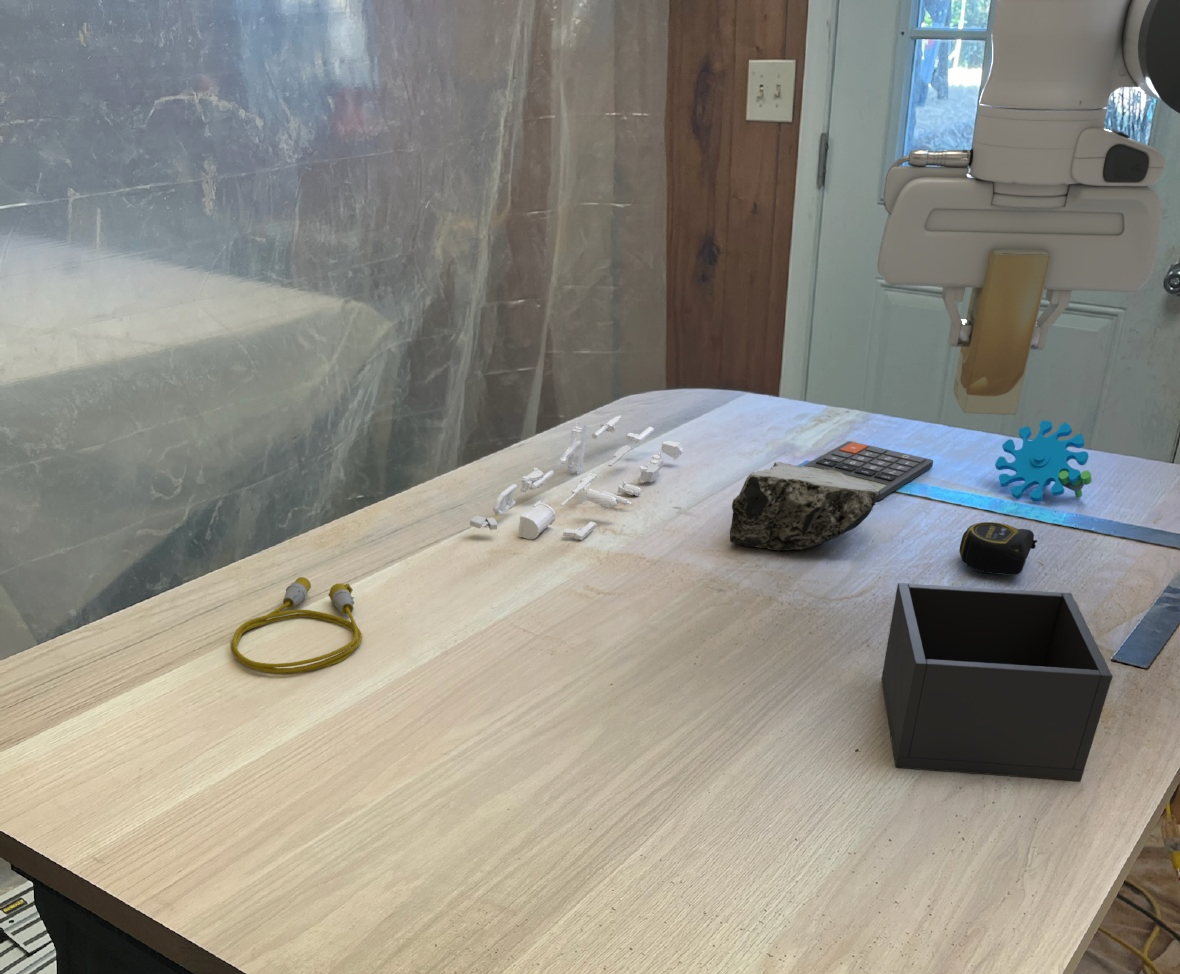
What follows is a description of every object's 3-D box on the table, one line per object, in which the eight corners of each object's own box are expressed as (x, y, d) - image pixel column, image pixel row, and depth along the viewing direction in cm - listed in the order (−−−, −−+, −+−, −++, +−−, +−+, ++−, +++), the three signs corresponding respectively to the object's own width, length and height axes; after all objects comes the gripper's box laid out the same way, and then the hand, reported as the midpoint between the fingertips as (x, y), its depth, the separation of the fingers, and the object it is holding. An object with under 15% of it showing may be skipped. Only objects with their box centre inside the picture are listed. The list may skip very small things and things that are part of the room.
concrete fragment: (743, 479, 131) (864, 415, 123) (780, 564, 132) (903, 506, 124) (697, 490, 118) (828, 419, 110) (738, 583, 119) (871, 519, 111)
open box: (1045, 690, 97) (1071, 592, 92) (1080, 781, 86) (1113, 676, 81) (881, 679, 98) (897, 582, 93) (895, 767, 87) (915, 663, 82)
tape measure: (1018, 586, 114) (1026, 551, 111) (949, 572, 116) (956, 537, 114) (1032, 562, 118) (1040, 527, 116) (965, 548, 121) (972, 514, 119)
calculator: (934, 458, 141) (879, 493, 131) (933, 466, 141) (878, 501, 132) (849, 439, 147) (790, 471, 137) (848, 446, 147) (789, 478, 138)
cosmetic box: (950, 392, 98) (978, 235, 91) (1003, 394, 97) (1034, 236, 90) (963, 415, 93) (993, 250, 86) (1018, 417, 92) (1053, 251, 85)
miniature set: (607, 434, 148) (693, 463, 145) (467, 547, 123) (568, 585, 120) (613, 386, 144) (703, 415, 141) (470, 493, 119) (575, 530, 116)
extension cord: (411, 614, 108) (409, 594, 107) (305, 689, 96) (302, 668, 95) (307, 588, 112) (304, 569, 111) (194, 657, 101) (189, 636, 100)
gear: (976, 474, 135) (1030, 404, 134) (985, 498, 140) (1038, 431, 139) (1057, 513, 129) (1114, 441, 128) (1063, 537, 134) (1119, 468, 133)
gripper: (892, 154, 83) (866, 352, 91) (1189, 158, 81) (1135, 361, 89) (886, 144, 88) (861, 332, 96) (1165, 148, 86) (1116, 341, 94)
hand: (995, 346), depth 92 cm, fingers closed on cosmetic box, 4 cm apart
